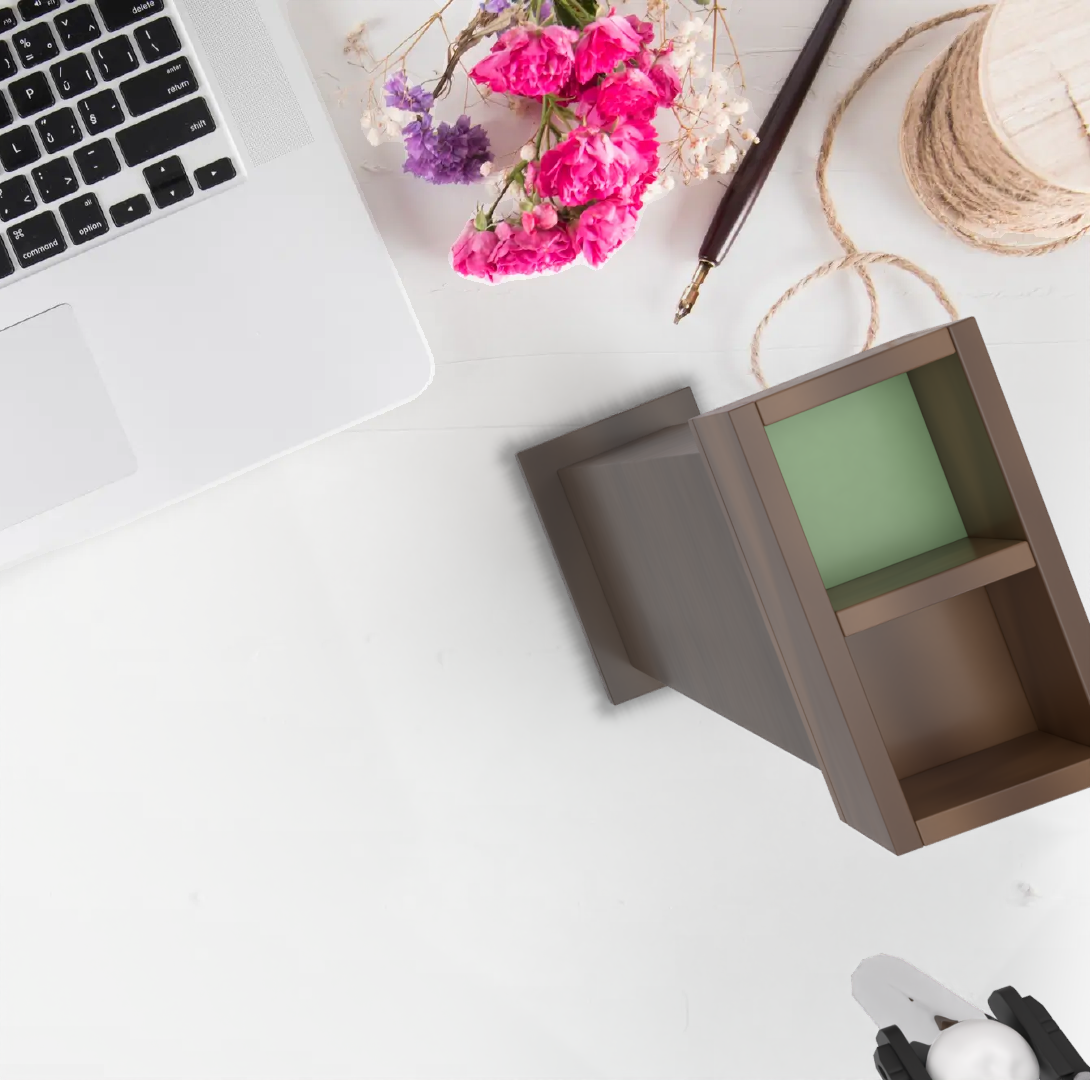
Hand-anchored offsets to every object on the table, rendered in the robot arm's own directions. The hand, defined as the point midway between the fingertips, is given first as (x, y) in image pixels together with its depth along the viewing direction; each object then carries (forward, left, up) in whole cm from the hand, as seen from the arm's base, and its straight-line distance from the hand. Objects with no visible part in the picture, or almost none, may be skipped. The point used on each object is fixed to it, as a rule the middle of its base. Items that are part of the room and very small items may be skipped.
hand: (941, 1014), depth 45 cm
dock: (+7, -19, +5) cm, 21 cm away
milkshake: (-1, +2, -6) cm, 7 cm away
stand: (+7, -19, -23) cm, 31 cm away
